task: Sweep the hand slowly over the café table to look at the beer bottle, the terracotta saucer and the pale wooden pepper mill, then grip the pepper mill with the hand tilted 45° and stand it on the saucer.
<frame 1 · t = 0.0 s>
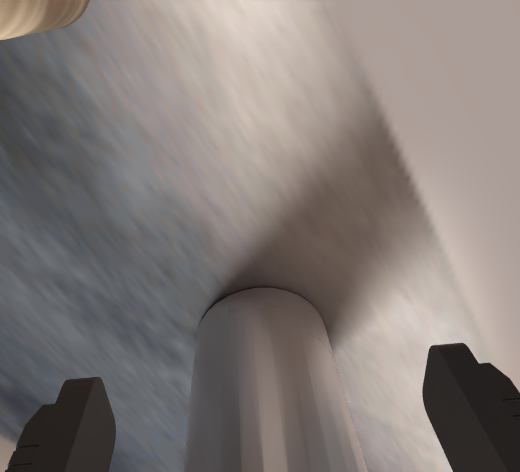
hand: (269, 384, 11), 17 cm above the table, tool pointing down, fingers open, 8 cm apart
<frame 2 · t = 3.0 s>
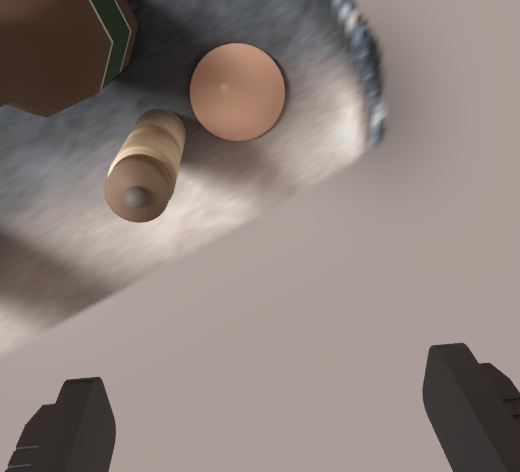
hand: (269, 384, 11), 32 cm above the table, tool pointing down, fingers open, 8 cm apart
beer bottle: (91, 24, 36), on the table
pepper mill: (160, 133, 41), on the table
saucer: (237, 93, 39), on the table
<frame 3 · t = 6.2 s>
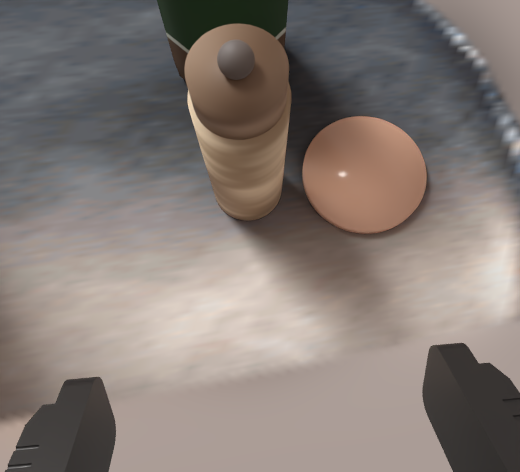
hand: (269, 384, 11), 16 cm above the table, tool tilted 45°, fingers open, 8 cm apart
beer bottle: (230, 60, 33), on the table
pepper mill: (247, 188, 30), on the table
saucer: (362, 175, 30), on the table
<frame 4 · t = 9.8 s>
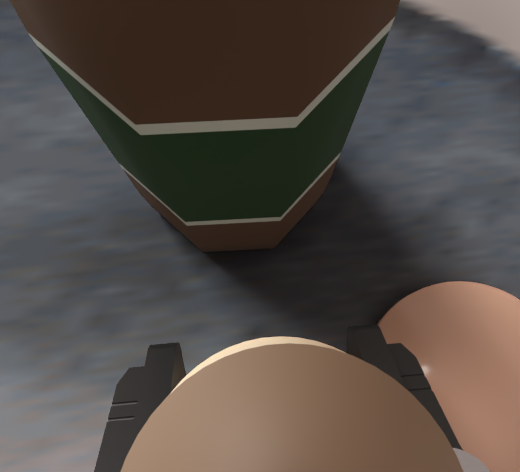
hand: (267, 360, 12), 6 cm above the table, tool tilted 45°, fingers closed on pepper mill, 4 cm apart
beer bottle: (235, 175, 20), on the table
pepper mill: (267, 413, 17), on the table, touching gripper
saucer: (464, 386, 18), on the table
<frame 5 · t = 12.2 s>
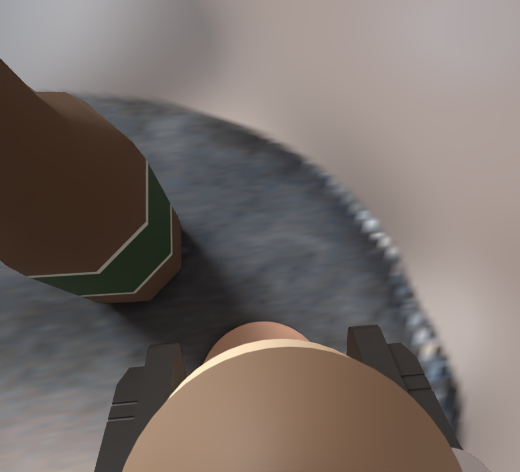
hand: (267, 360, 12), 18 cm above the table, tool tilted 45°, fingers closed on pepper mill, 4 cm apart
beer bottle: (131, 251, 31), on the table
pepper mill: (267, 414, 17), point 12 cm above the table, touching gripper
saucer: (263, 386, 29), on the table
when the fingers open (8 cm above the table, at t = 14.9 s): pepper mill drops 1 cm, resting on saucer.
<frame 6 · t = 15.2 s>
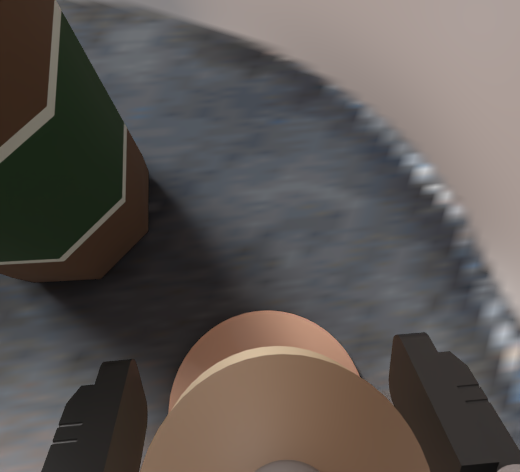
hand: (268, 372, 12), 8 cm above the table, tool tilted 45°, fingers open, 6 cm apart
beer bottle: (76, 209, 22), on the table
pepper mill: (266, 414, 19), point 1 cm above the table, touching saucer
saucer: (267, 408, 19), on the table
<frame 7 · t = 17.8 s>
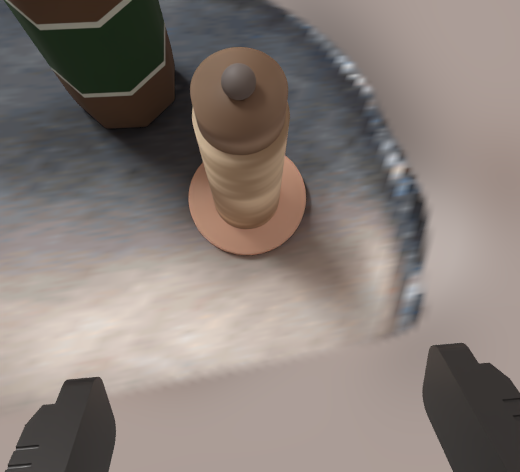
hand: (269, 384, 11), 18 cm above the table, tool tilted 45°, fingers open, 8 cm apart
beer bottle: (129, 88, 35), on the table
pepper mill: (246, 198, 31), point 1 cm above the table, touching saucer
saucer: (247, 199, 32), on the table
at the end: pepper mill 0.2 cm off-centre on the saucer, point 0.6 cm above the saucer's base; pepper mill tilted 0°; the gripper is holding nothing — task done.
